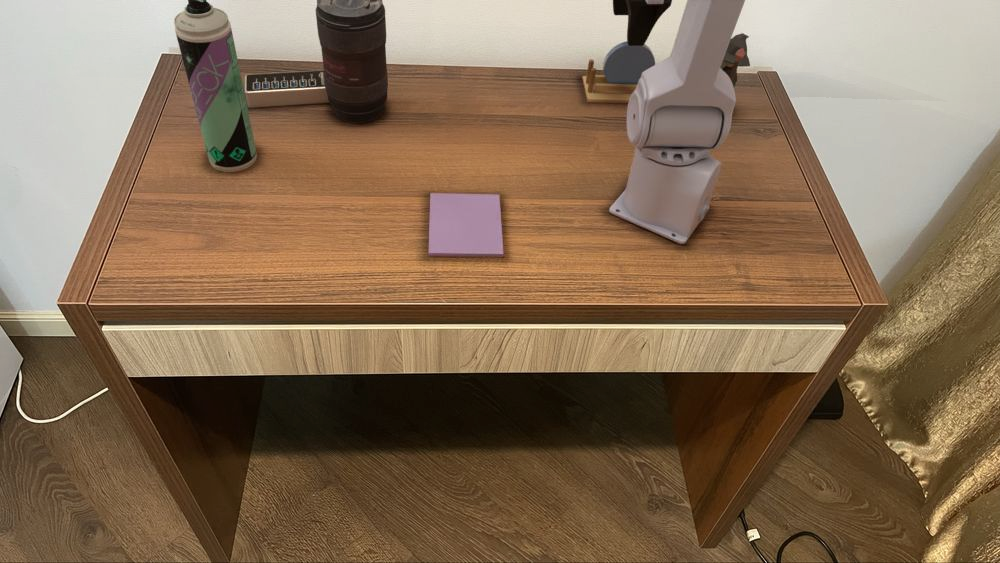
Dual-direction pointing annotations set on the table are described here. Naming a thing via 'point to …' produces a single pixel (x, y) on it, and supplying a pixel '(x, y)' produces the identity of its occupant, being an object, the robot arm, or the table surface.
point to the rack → (605, 88)
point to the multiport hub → (285, 88)
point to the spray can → (216, 85)
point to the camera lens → (354, 57)
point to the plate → (627, 63)
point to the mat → (465, 225)
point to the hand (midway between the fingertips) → (628, 28)
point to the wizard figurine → (735, 56)
